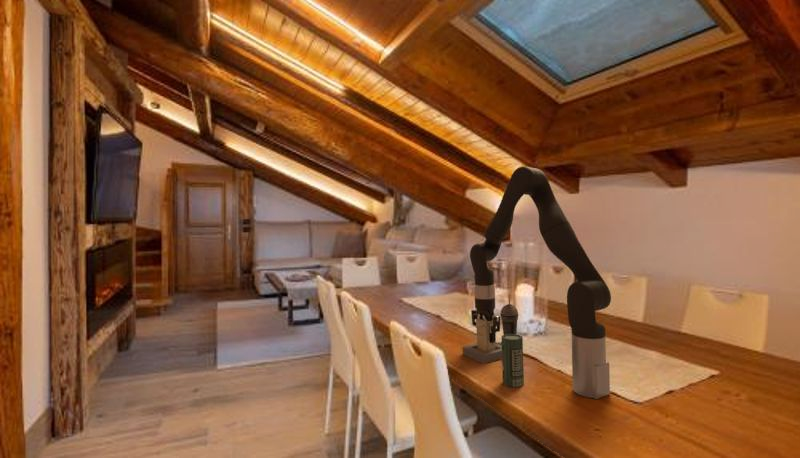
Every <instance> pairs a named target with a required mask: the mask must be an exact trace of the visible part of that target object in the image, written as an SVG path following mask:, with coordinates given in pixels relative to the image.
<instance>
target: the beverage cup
mask: <svg viewBox="0 0 800 458" xmlns="http://www.w3.org/2000/svg"><path fill="white" fill-rule="evenodd" d="M499 316H500V320H501V323H502V334H503V335H505V334H516V335H518V334H517V332H518V331H517V330H518V320H519V310H518V309H517V307H516V306H515V305H513V304H511V294H508V303H507V304H505V305H503V306H502V307H501V310H500V314H499Z"/></svg>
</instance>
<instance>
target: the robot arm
mask: <svg viewBox="0 0 800 458" xmlns="http://www.w3.org/2000/svg"><path fill="white" fill-rule="evenodd" d="M525 195H527V196H529V197H530V198H531V199H532V201H533V203H534V205H535V207H536V209H537V212H538V213H537V214H538V227H539V233H540V235H541V237H542V240H543V241H544V243H545V245H546V247H547V248H548V251H550V252H551V254H553V255H554V256H555V258H557V259H558V260H560V262H562V263H563V264H564V265H565V266H566V267H568V269H569V270H570V271H571V272H572V274H573V276H574V277H575V279H576V282H573V283H572V284H570V285H569V287H568V289H567V292H566V306H567V319H568V320H567V321H568V324H569V326H570V329H571V330H570V331H571V363H572V364H571V365H572V366H571V367H572V370H571V371H572V391H573V392H574V393H575V394H576V395H579V396H582V397H585V398H589V399H590V398H591V399H592V398H593V399H595V400H599V399H602V398H603V397H606V396H608V395H610V394H611V391H610V389H611V384H610V377H611V376H610V362H609V361H607V344H606V343H607V342H606V339H607V337H606V333H607V332H606V331H607V330H606V327H605V325H604V324H602V323H600V322H598V321H597V320H596V312H597V311H601V310H605V309H606V308H609V306H610V304H611V300H612V295H611V291H610V289H609V287H608V284H607V283H606V281H605V280H604V278H603V277H602V275H601V274H600V273H599V272H598V270H597V269H596V268H595V266H594V265H593V263H592V261H591V260H590V258H589V256H588V254H587V252H586V250H585V249H584V247H583V245H582V244H581V243H580V240H579V239H578V237H577V235H576V233H575V231H574V229H573V227H572V225H571V223H570V222H569V220H568V219H567V217H566V215H565V213H564V211H563V209H562V208H561V206H560V204H559V203H558V200H557V199H556V196H555V194H554V191H553V190H552V187H551V184H550V182H549V179H548V177H547V175H546V174H545V173H544V171H542V170H541V169H539V168H535V167H530V166H520V167H517V168H516V169H515V170H514V171H513V173H512V174H511V176H510V178H509V181H508V183H507V185H506V188H505V191H504V192H503V195H502V197H501V198H502V199H501V200H500V202H499V205H498V208H497V210H496V212H495V214H494V215H493V217H492V219H491V220H490V222H489V223H488V226H487V227H486V229H485V230H484V233H483V234H484V238H485V241H483V242H481V243H475V244H474V245H473V246H472V247H471V248H470V251H469V259H470V263H471V266H472V270H473V274H474V308H475V309H471V310H470V312H471V313H470V314H471V323H472V326H474V327H475V328H476V329H477V319H482V320H484V321H486V322H488V321H493V324H489V323H487V326H488V327H489V332H490V333H489V340H490V343H494V342H495V343H496V341H497V337H496V334H497V333H499V332H500V330H501V315H495V311H494V310H495V309H496V289H495V279H494V278H495V277H494V270H493V269H492V268H490V267H488V263H487V262H490V261H493V260H494V259H495V258H496V257H497V256H498V253H499V251H500V248H501V246H502V242H503V240H504V239H505V237H506V236H507V234H508V232H509V231H510V230H511V227H512V225H513V221H514V213H515V209H516V206H517V204H518V203H519V201H520V200H521V198H522V197H523V196H525ZM491 326H493V329H491Z"/></svg>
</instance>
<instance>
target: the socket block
mask: <svg viewBox="0 0 800 458" xmlns="http://www.w3.org/2000/svg"><path fill="white" fill-rule="evenodd" d="M462 355H464V356H465V357H467V358H470V359H472V360H474V361H477V362H478V363H481V364H482V365H485V364H488V363H492V362H497V361H499V360H502V344H499V343H498V342H497V343H496V342H495V350H493V351H490V352H486V353H485V352H482V351H480V350H478V349H477V342H476V343H473V344H467V345H464V346H462Z"/></svg>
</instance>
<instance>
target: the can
mask: <svg viewBox="0 0 800 458" xmlns="http://www.w3.org/2000/svg"><path fill="white" fill-rule="evenodd" d="M500 337H501V338H500V339H501V345H502V359H501V365H502V371H501V372H502V384H503V385H504V386H505V387H508V388H514V387H515V388H516V389H517V388H521V387H523V386H524V384H525V383H524V382H525V380H524V379H525V377H524V374H525V372H524V347H523V346H524V344H523V343H524V342H523V341H524V340H523V336H522V335H520V334H505V335H504V334H503V335H501V336H500Z"/></svg>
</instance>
